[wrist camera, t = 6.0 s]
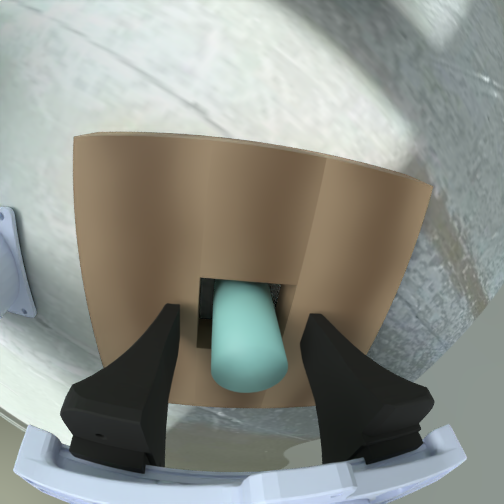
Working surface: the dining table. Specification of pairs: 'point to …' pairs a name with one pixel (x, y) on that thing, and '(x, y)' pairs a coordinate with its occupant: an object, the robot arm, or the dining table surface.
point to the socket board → (236, 244)
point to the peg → (246, 337)
